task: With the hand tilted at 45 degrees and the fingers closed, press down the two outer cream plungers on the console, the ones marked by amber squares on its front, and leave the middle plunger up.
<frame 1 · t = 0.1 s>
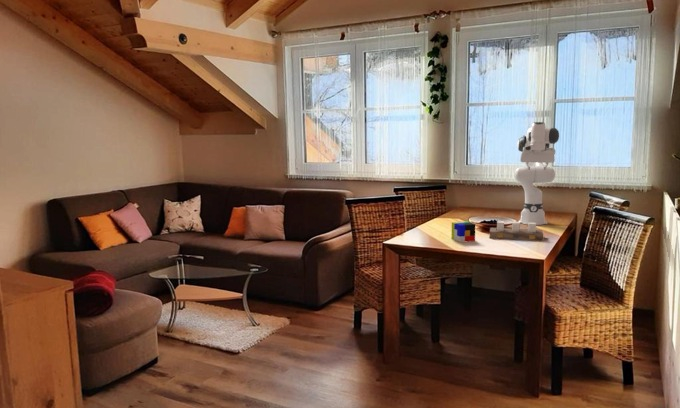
hand: (536, 169, 324), 39 cm above the table, tool pointing down, fingers open, 8 cm apart
plunger 2: (531, 228, 307), point 6 cm above the table, slide at 0.0 cm
plunger middle: (516, 227, 309), point 6 cm above the table, slide at 0.0 cm
console: (515, 237, 310), on the table
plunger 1: (500, 226, 312), point 6 cm above the table, slide at 0.0 cm
puzzle toy: (463, 240, 306), on the table
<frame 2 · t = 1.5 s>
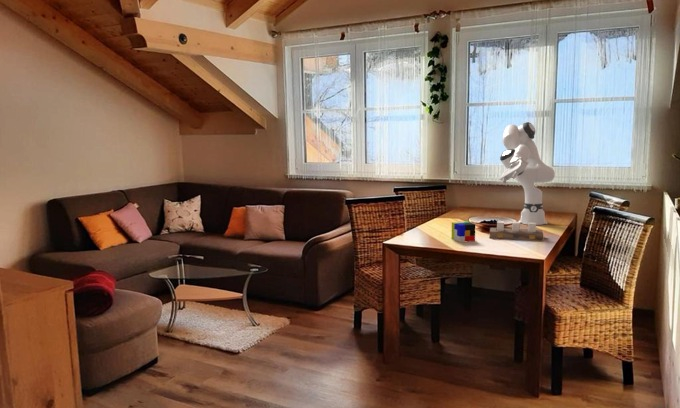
hand: (508, 180, 315), 33 cm above the table, tool tilted 50°, fingers open, 8 cm apart
nothing on the table moved.
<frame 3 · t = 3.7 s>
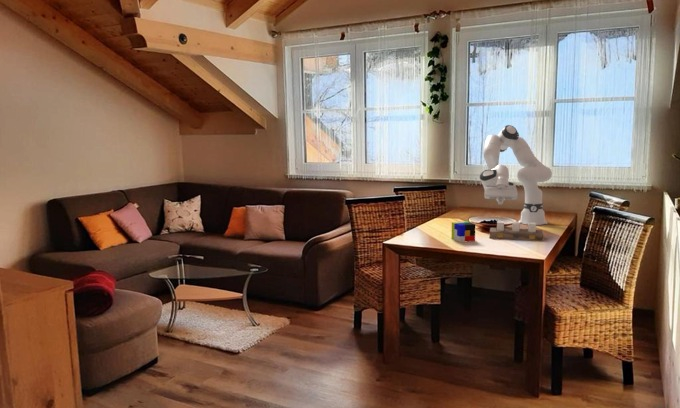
hand: (500, 203, 322), 18 cm above the table, tool tilted 45°, fingers closed
nothing on the table moved.
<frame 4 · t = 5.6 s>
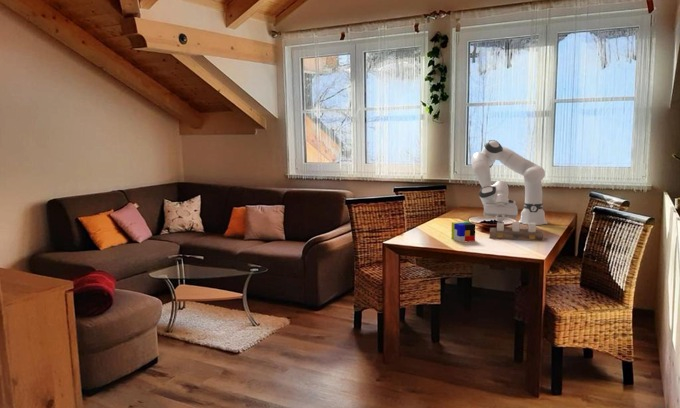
hand: (500, 222, 312), 9 cm above the table, tool tilted 45°, fingers closed, pressing on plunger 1
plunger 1: (500, 227, 312), point 5 cm above the table, slide at 0.7 cm, touching gripper
everything else where it was.
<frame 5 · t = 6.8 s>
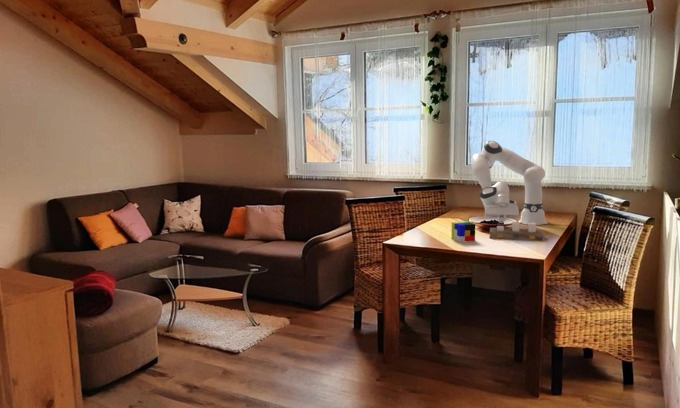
hand: (501, 222, 312), 9 cm above the table, tool tilted 45°, fingers closed
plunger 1: (500, 231, 312), point 3 cm above the table, slide at 2.9 cm
everything else where it was.
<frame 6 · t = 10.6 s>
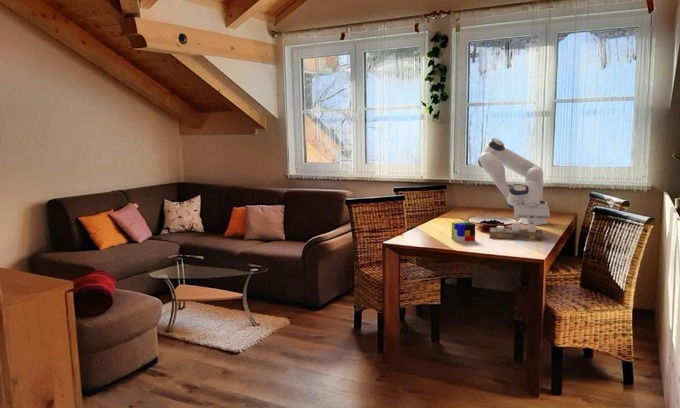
hand: (531, 223, 306), 9 cm above the table, tool tilted 45°, fingers closed, pressing on plunger 2
plunger 2: (531, 229, 307), point 5 cm above the table, slide at 0.7 cm, touching gripper
everything else where it was.
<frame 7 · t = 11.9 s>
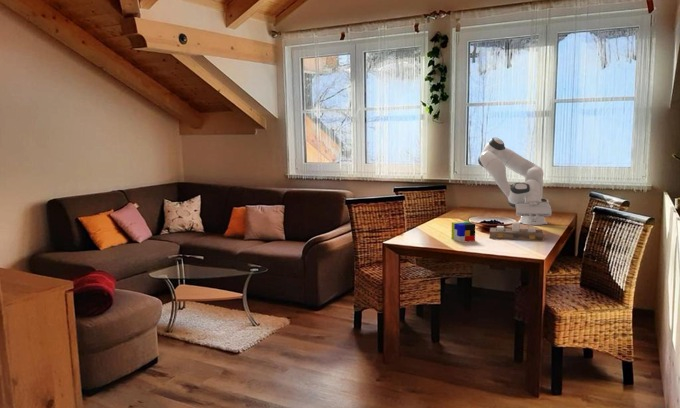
hand: (533, 221, 307), 10 cm above the table, tool tilted 45°, fingers closed
plunger 2: (531, 232, 307), point 3 cm above the table, slide at 2.9 cm
everything else where it was.
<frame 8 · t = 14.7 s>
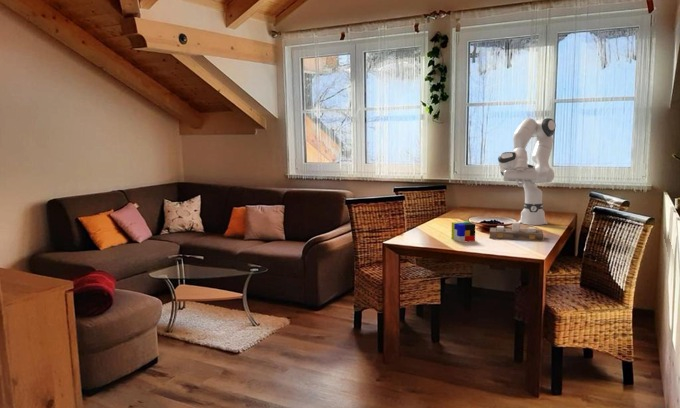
hand: (520, 186, 320), 29 cm above the table, tool tilted 45°, fingers closed
nothing on the table moved.
at the end: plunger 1 slide at 2.9 cm; plunger 2 slide at 2.9 cm; plunger middle slide at 0.0 cm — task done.
